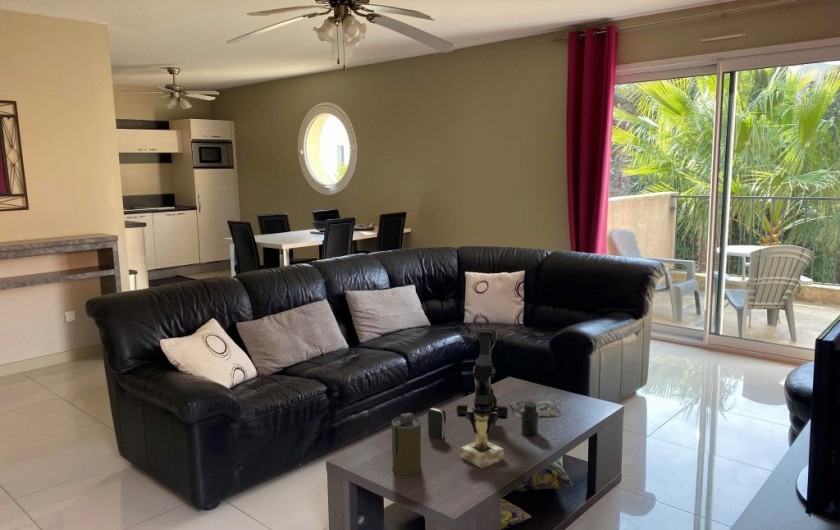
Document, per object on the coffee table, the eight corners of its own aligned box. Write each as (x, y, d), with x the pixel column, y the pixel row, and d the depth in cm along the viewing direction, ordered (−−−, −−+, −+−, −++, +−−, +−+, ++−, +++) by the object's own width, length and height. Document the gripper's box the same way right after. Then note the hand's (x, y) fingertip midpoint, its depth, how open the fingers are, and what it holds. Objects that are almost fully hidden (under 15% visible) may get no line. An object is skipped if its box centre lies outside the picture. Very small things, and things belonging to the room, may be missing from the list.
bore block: (460, 457, 226) (461, 447, 225) (482, 448, 233) (482, 438, 232) (482, 468, 217) (482, 457, 217) (503, 459, 224) (503, 448, 224)
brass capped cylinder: (471, 449, 225) (471, 415, 223) (481, 444, 228) (481, 411, 226) (481, 454, 221) (481, 419, 219) (491, 449, 224) (491, 416, 222)
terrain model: (515, 419, 261) (516, 412, 261) (509, 406, 276) (509, 399, 276) (562, 418, 262) (563, 411, 262) (553, 405, 277) (554, 398, 277)
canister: (409, 458, 225) (408, 406, 222) (427, 469, 217) (427, 415, 214) (385, 467, 218) (384, 414, 215) (403, 478, 210) (402, 423, 207)
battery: (447, 436, 243) (447, 409, 242) (441, 440, 240) (441, 412, 239) (433, 432, 248) (433, 405, 246) (427, 435, 245) (427, 408, 243)
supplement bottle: (538, 437, 242) (538, 408, 240) (520, 436, 243) (521, 407, 242) (538, 430, 249) (539, 402, 247) (521, 429, 250) (521, 401, 248)
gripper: (456, 383, 226) (454, 424, 217) (508, 385, 223) (507, 426, 214) (458, 396, 235) (456, 435, 226) (507, 398, 232) (507, 438, 223)
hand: (481, 434), depth 222 cm, fingers closed on brass capped cylinder, 4 cm apart
